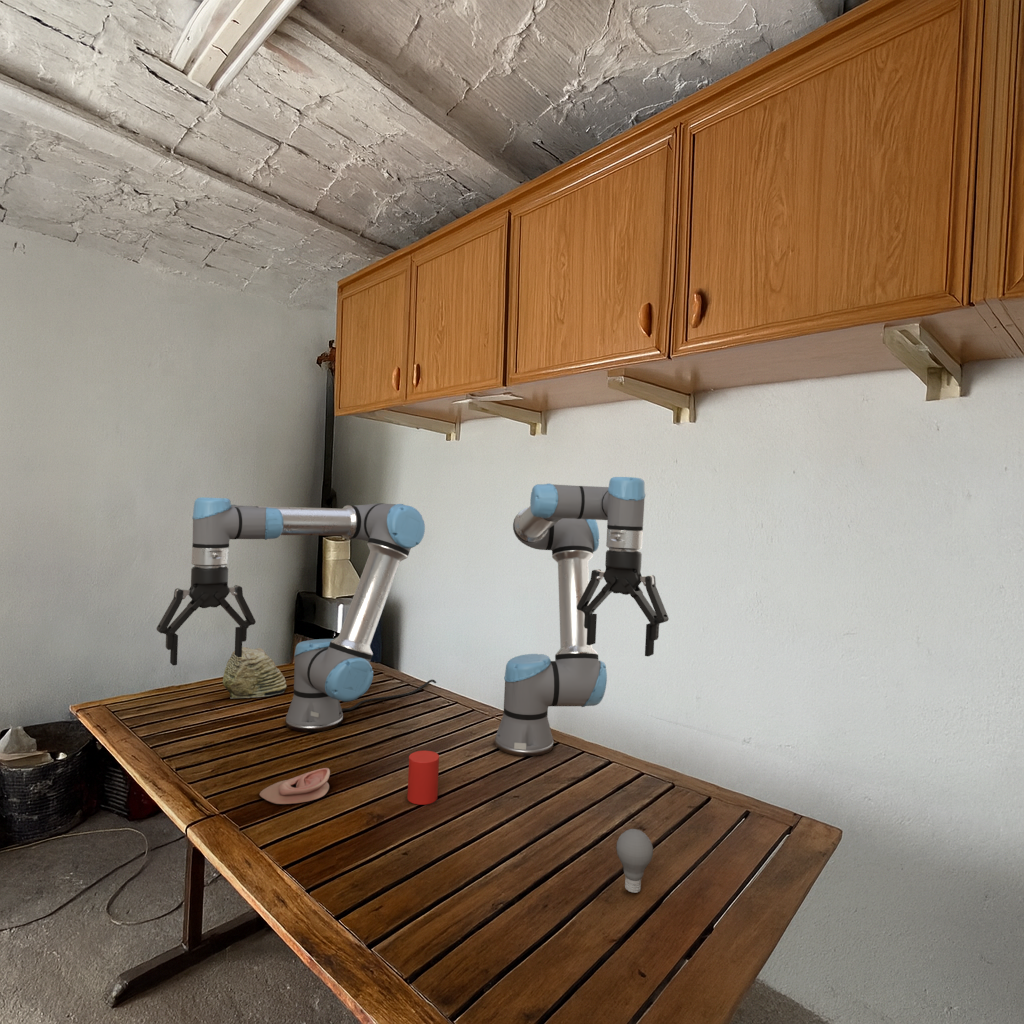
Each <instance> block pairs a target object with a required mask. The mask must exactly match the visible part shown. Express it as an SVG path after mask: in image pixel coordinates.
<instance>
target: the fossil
mask: <svg viewBox="0 0 1024 1024" xmlns="http://www.w3.org/2000/svg"><path fill="white" fill-rule="evenodd" d="M222 676H223V677H222V685H223V687H224V688H225V690H226V691H228V693H229V698H230V699H250V698H264V697H271V696H275V695H281V694H284V693H285V691H286V689H287V687H288V686H287V680H286V678H285V676H284V674H283V673H282V672H281V669H279V668H278V667H277V665H276V663H275V662H274V660H273V659H272V658H271V657H270V656H269V655H268V654H267V653H266V652H265V650H264V649H263V648H260V647H258V648H251V647H247V646H246V647H245V646H242V657H237V656H236V655H235V650H233V651H232V653H231V656H230V657H229V659H228V660H227V663H226V666H225V668H224V671H223V675H222Z"/></svg>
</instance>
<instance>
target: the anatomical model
mask: <svg viewBox="0 0 1024 1024" xmlns="http://www.w3.org/2000/svg"><path fill="white" fill-rule="evenodd" d="M330 776H331V770H330V768H329V767H323V768H319V769H314V770H312V771H308V772H305V773H303V774H300V775H297V776H294V777H292V778H289V779H284V780H281V781H280V780H279V781H277V782H275V783H273V784H270V785H269V786H266V787H265V788H263V789H262V790H261V791H259V797H261V799H264V800H265V801H267V802H269V803H271V804H275V805H292V804H300V803H306V802H310V801H314V800H318V799H320V798H322V797H324V796H325V795H326V794H327V793H328V792H329V790H330V784H329V782H328V780H329V778H330Z"/></svg>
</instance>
